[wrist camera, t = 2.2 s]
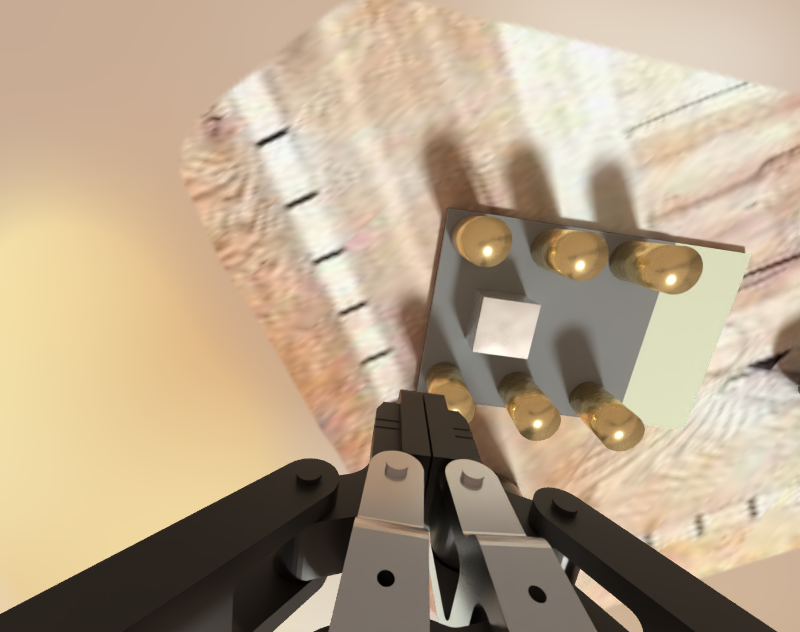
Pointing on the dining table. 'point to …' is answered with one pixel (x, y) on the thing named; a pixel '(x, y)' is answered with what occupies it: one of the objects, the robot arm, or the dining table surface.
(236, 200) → the dining table surface
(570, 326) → the mat
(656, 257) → the spacers
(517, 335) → the white faced textured brick
